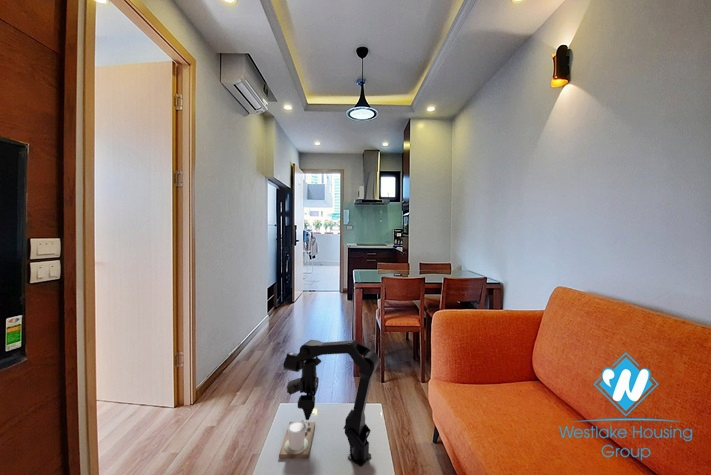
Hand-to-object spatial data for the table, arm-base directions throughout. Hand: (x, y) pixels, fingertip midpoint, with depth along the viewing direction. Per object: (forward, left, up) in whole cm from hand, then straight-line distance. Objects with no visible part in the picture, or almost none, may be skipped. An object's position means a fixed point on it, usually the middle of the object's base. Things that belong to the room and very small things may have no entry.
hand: (308, 412), depth 114 cm
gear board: (+3, +2, -12) cm, 12 cm away
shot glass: (0, +6, -10) cm, 12 cm away
